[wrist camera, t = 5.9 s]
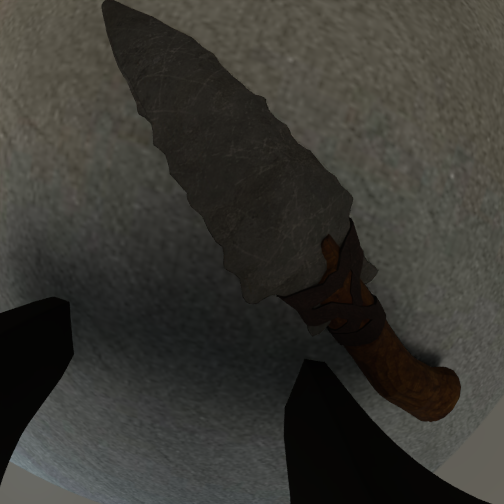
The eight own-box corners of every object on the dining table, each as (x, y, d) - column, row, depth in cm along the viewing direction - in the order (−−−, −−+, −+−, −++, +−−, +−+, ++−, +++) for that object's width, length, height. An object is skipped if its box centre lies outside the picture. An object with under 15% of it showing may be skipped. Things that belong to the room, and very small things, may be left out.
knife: (475, 401, 8) (360, 494, 7) (438, 380, 10) (334, 458, 9) (248, -68, 5) (78, -17, 5) (236, -26, 7) (95, 24, 7)
